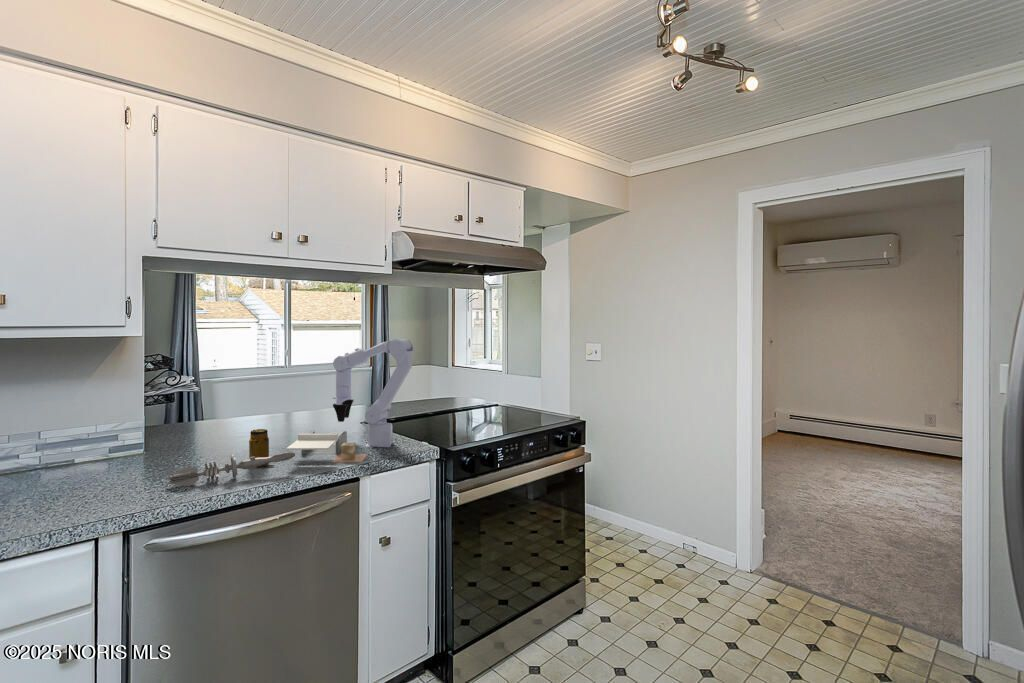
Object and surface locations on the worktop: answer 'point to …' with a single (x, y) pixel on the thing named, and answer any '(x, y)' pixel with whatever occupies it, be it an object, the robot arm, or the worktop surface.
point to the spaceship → (223, 469)
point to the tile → (356, 459)
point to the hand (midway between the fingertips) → (343, 419)
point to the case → (333, 449)
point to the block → (347, 451)
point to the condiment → (259, 445)
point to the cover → (313, 442)
